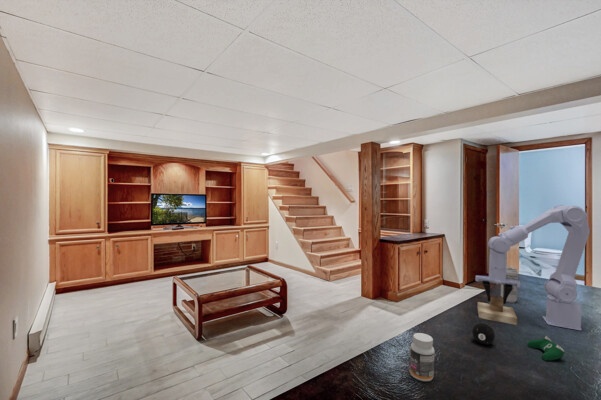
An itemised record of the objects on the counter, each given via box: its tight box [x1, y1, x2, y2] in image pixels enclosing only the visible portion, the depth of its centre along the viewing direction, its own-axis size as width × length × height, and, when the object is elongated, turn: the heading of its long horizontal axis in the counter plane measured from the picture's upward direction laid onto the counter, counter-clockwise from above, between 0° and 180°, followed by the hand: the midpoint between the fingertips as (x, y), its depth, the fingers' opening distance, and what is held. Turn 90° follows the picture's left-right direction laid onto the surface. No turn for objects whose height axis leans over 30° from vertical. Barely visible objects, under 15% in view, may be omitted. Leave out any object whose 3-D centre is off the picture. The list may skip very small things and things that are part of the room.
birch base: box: [476, 301, 518, 326], centre depth 117 cm, size 12×12×3 cm
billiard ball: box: [471, 322, 496, 345], centre depth 94 cm, size 6×6×6 cm
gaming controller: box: [527, 335, 566, 361], centre depth 88 cm, size 9×4×6 cm
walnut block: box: [489, 294, 504, 312], centre depth 117 cm, size 4×4×5 cm
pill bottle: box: [409, 332, 436, 382], centre depth 76 cm, size 6×6×10 cm
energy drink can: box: [500, 266, 519, 304], centre depth 135 cm, size 6×6×15 cm
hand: (496, 302), depth 117 cm, fingers open, 4 cm apart
